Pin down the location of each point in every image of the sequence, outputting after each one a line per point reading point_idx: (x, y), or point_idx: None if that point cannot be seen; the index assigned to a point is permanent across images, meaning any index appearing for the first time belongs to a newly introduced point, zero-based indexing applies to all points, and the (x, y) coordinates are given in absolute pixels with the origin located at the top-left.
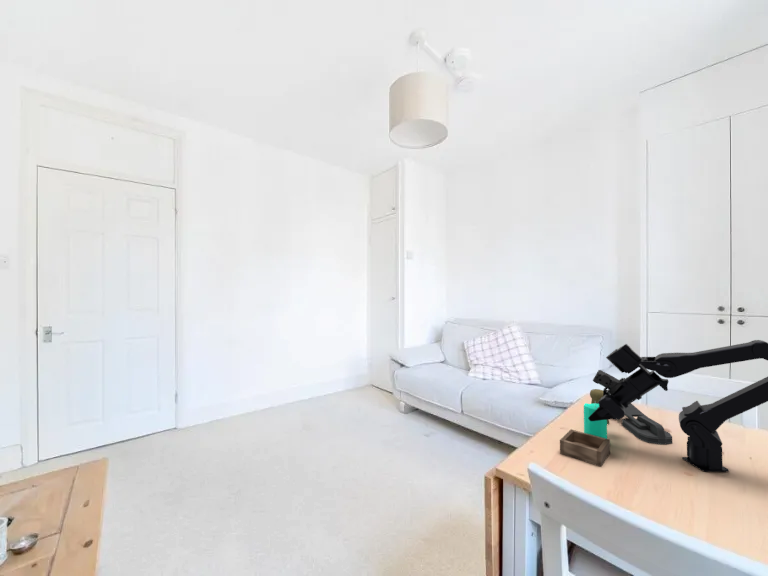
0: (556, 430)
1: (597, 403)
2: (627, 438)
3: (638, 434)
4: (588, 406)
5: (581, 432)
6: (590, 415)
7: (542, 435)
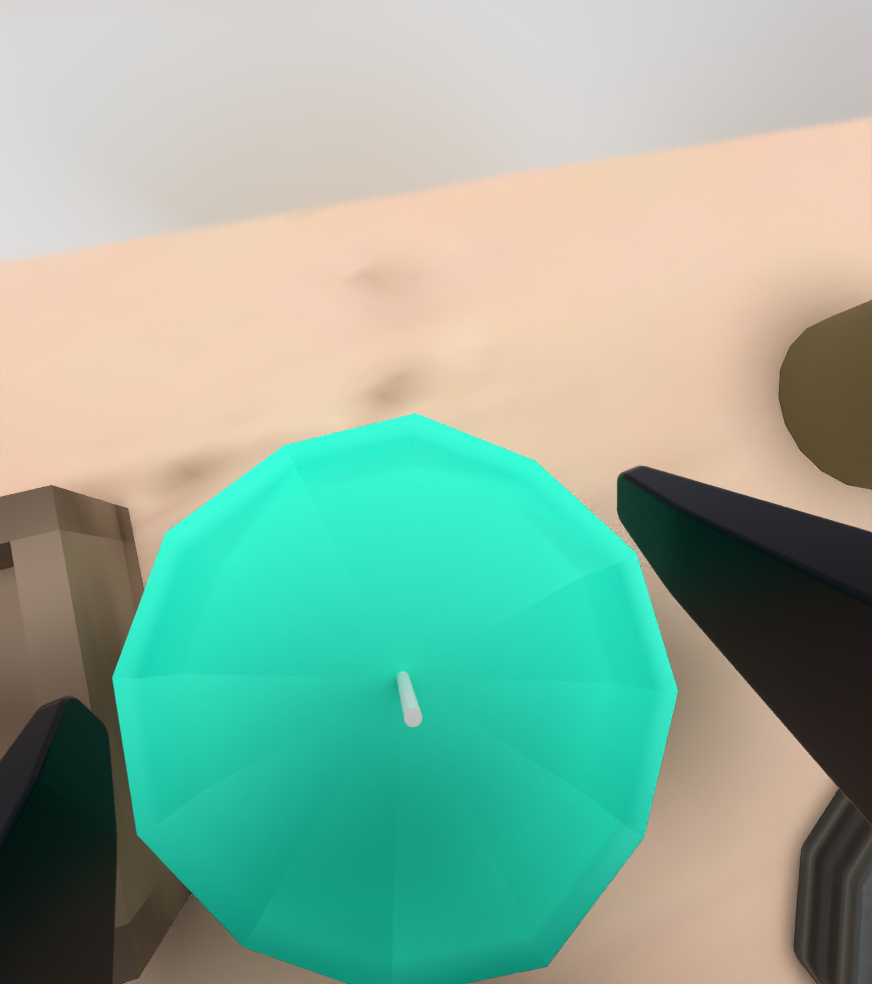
0: (275, 281)
1: (748, 544)
2: (716, 777)
3: (841, 868)
4: (339, 541)
5: (58, 623)
6: (13, 768)
7: (28, 267)
